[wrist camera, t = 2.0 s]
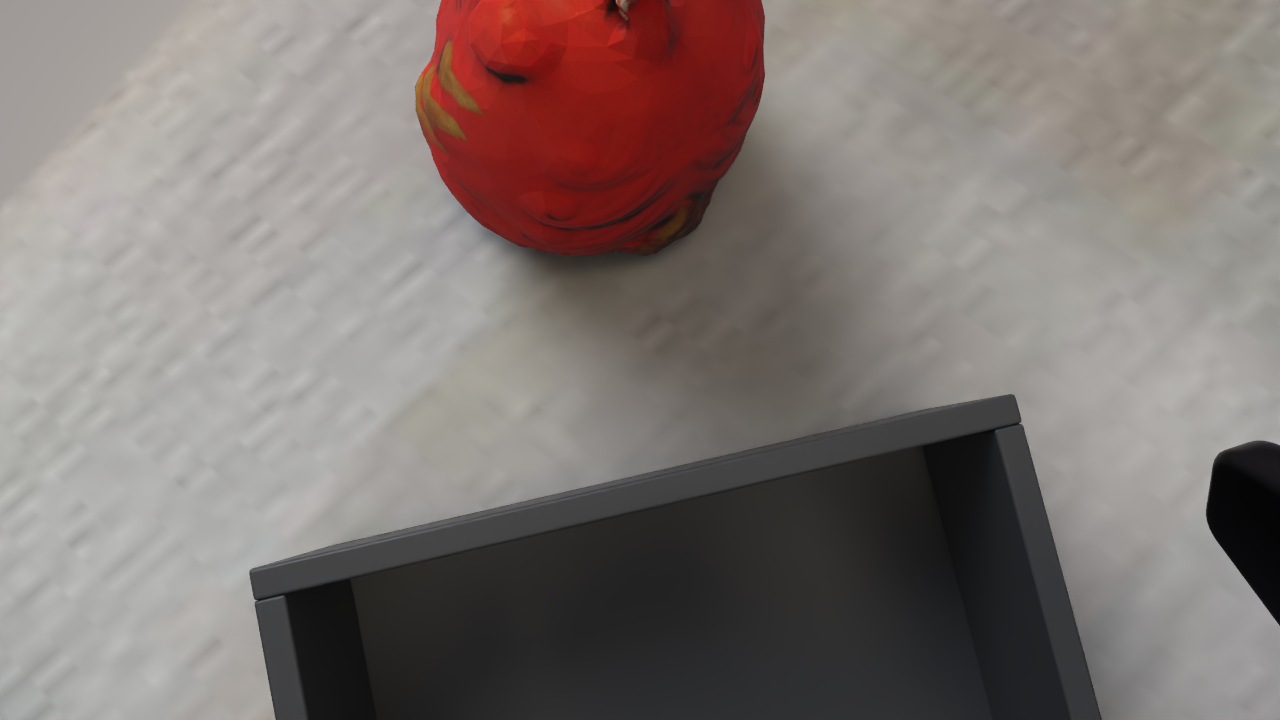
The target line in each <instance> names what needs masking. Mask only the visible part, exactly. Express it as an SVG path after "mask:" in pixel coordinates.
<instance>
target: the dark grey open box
mask: <svg viewBox="0 0 1280 720" xmlns="http://www.w3.org/2000/svg"><path fill="white" fill-rule="evenodd" d="M1020 422H1021V417H1020V413H1019V409H1018V405H1017V402H1016V398H1015V396H1014V395H1012V394H1009V395H1004V396H998V397H992V398H986V399H981V400H975V401H969V402H964V403H958V404H952V405H947V406H941V407H935V408H930V409H925V410H920V411H916V412H911V413H907V414H903V415H898V416H894V417H890V418H885V419H881V420H877V421H872V422H868V423H864V424H859V425H855V426H851V427H846V428H842V429H837V430H833V431H829V432H824V433H820V434H816V435H811V436H807V437H803V438H798V439H794V440H790V441H785V442H781V443H777V444H772V445H768V446H764V447H759V448H755V449H750V450H746V451H742V452H737V453H733V454H729V455H724V456H720V457H716V458H711V459H707V460H703V461H698V462H694V463H690V464H685V465H681V466H676V467H672V468H668V469H663V470H659V471H655V472H650V473H646V474H642V475H637V476H633V477H629V478H624V479H620V480H616V481H611V482H607V483H602V484H598V485H594V486H589V487H585V488H581V489H576V490H572V491H568V492H563V493H559V494H555V495H550V496H546V497H542V498H537V499H533V500H528V501H524V502H520V503H515V504H511V505H507V506H502V507H498V508H494V509H489V510H485V511H481V512H476V513H472V514H468V515H463V516H459V517H455V518H450V519H446V520H441V521H437V522H433V523H428V524H424V525H420V526H415V527H411V528H407V529H402V530H398V531H394V532H389V533H385V534H381V535H376V536H372V537H367V538H363V539H359V540H354V541H350V542H346V543H341V544H337V545H333V546H328V547H325V548H322V549H318V550H315V551H311V552H308V553H304V554H301V555H297V556H294V557H291V558H287V559H284V560H280V561H277V562H274V563H270V564H267V565H263V566H260V567H257V568H253V569H251V570H250V573H249V574H250V580H251V585H252V591H253V596H254V599H255V600H258V601H256V602H255V608H256V614H257V619H258V625H259V630H260V636H261V641H262V647H263V652H264V658H265V663H266V669H267V674H268V680H269V685H270V691H271V696H272V701H273V707H274V712H275V718H276V720H1102V719H1101V715H1100V712H1099V708H1098V704H1097V700H1096V697H1095V693H1094V689H1093V686H1092V682H1091V678H1090V674H1089V671H1088V667H1087V663H1086V659H1085V656H1084V652H1083V648H1082V644H1081V641H1080V637H1079V633H1078V630H1077V626H1076V622H1075V618H1074V615H1073V611H1072V607H1071V603H1070V600H1069V596H1068V592H1067V588H1066V585H1065V581H1064V577H1063V573H1062V570H1061V566H1060V562H1059V559H1058V555H1057V551H1056V547H1055V544H1054V540H1053V536H1052V532H1051V529H1050V525H1049V521H1048V517H1047V514H1046V510H1045V506H1044V502H1043V499H1042V495H1041V491H1040V488H1039V484H1038V480H1037V476H1036V473H1035V469H1034V465H1033V461H1032V458H1031V454H1030V450H1029V446H1028V443H1027V439H1026V435H1025V431H1024V428H1023V426H1022V424H1019V423H1020Z"/></svg>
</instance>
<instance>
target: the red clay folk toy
mask: <svg viewBox="0 0 1280 720" xmlns="http://www.w3.org/2000/svg"><path fill="white" fill-rule="evenodd" d="M764 24H765V15H764V10H763V6H762V2H761V0H442V1H441V4H440V7H439V11H438V15H437V19H436V41H435V49H434V53H433V56H432V58H431V61H430V62H429V64H428V65H427V67H426V68H425V69H424V71H423V72H422V74H421V75H420V76H419V78H418V81H417V83H416V86H415V91H416V112H417V115H418V119H419V122H420V125H421V128H422V131H423V135H424V137H425V139H426V141H427V143H428V145H429V147H430V149H431V152H432V156H433V160H434V162H435V164H436V167H437V169H438V171H439V173H440V176H441V178H442V180H443V181H444V183H445V184H446V186H447V187H448V189H449V190H450V191H451V193H452V194H453V196H454V197H455V198H456V199H457V200H458V202H459V203H460V204H461V205H462V206H463V207H464V208H465V209H466V210H467V212H468V213H469V214H470V215H471V216H472V217H473V218H474V219H475V220H477V221H478V222H479V223H480V224H481V225H483V226H484V227H486V228H488V229H490V230H491V231H493V232H495V233H496V234H498V235H500V236H502V237H503V238H505V239H507V240H509V241H511V242H513V243H515V244H517V245H519V246H523V247H530V248H533V249H536V250H540V251H544V252H549V253H554V254H560V255H599V254H604V253H609V252H615V251H618V252H624V253H631V254H637V255H646V256H647V255H651V254H655V253H657V252H658V251H660V250H661V249H663V248H665V247H666V246H668V245H669V244H671V243H672V242H674V241H676V240H678V239H680V238H682V237H684V236H686V235H688V234H689V233H691V232H692V231H693V230H695V229H696V228H697V226H698V225H699V224H700V223H701V220H702V217H703V215H704V212H705V210H706V208H707V206H708V205H709V203H710V199H711V196H712V193H713V191H714V189H715V187H716V184H717V182H718V181H719V180H720V179H721V178H722V177H723V176H724V175H725V174H726V172H727V171H728V169H729V168H730V167H731V165H732V164H733V162H734V161H735V159H736V157H737V156H738V154H739V152H740V150H741V147H742V145H743V142H744V139H745V136H746V133H747V131H748V129H749V127H750V125H751V122H752V120H753V118H754V116H755V114H756V112H757V109H758V106H759V102H760V99H761V95H762V90H763V84H764V78H765V71H764V54H763V43H764Z"/></svg>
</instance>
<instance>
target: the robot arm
mask: <svg viewBox="0 0 1280 720" xmlns="http://www.w3.org/2000/svg"><path fill="white" fill-rule="evenodd" d="M1206 517H1207V522H1208V525H1209V528H1210V530H1211V532H1212V534H1213V536H1214V537H1215V539H1216V540H1217V542H1218V543H1219V544H1220V546H1221V547H1222V548H1223V550H1224V551H1225V552H1226V554H1227V555H1228V557H1229V558H1230V559H1231V561H1232V562H1233V563H1234V565H1235V566H1236V567H1237V569H1238V570H1239V571H1240V573H1241V574H1242V575H1243V577H1244V578H1245V579H1246V581H1247V582H1248V584H1249V585H1250V586H1251V588H1252V589H1253V590H1254V592H1255V593H1256V594H1257V596H1258V597H1259V598H1260V600H1261V601H1262V602H1263V604H1264V605H1265V606H1266V608H1267V609H1268V610H1269V612H1270V613H1271V615H1272V616H1273V617H1274V619H1275V620H1276V621H1277V623H1278V624H1279V625H1280V445H1277V444H1274V443H1271V442H1267V441H1252V442H1248V443H1245V444H1242V445H1239V446H1236V447H1233V448H1230V449H1227V450H1224V451H1222V452H1220V453H1219V454H1218V455H1217V457H1216V458H1215V460H1214V463H1213V468H1212V475H1211V481H1210V488H1209V495H1208V501H1207V508H1206Z"/></svg>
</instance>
